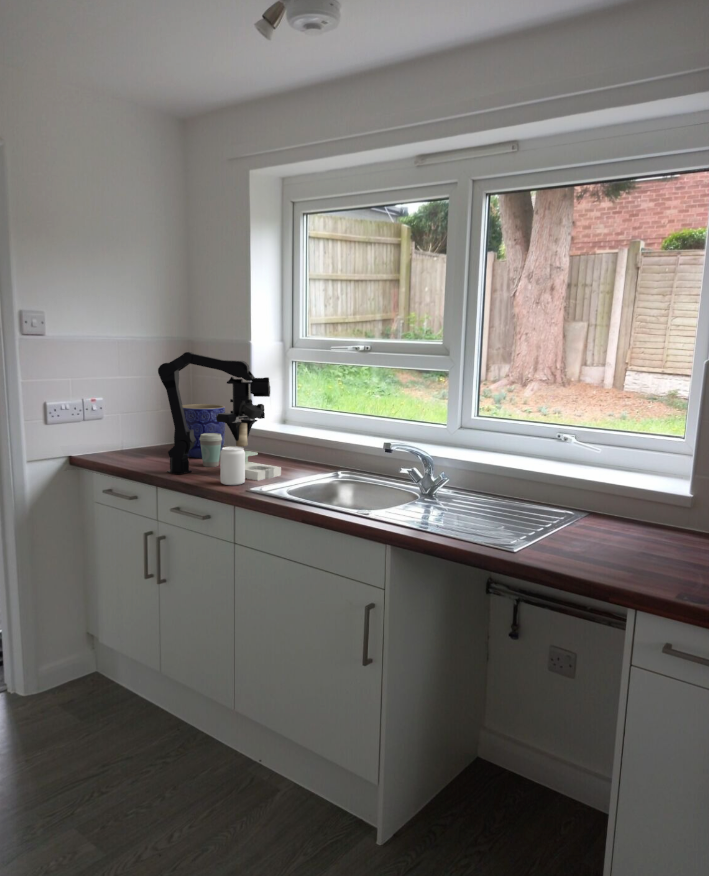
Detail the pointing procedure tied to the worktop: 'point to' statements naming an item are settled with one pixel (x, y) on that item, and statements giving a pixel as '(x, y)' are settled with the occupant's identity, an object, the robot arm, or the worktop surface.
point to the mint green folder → (249, 454)
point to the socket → (261, 471)
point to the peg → (242, 435)
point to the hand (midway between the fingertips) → (241, 440)
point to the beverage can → (232, 466)
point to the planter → (203, 424)
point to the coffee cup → (210, 449)
